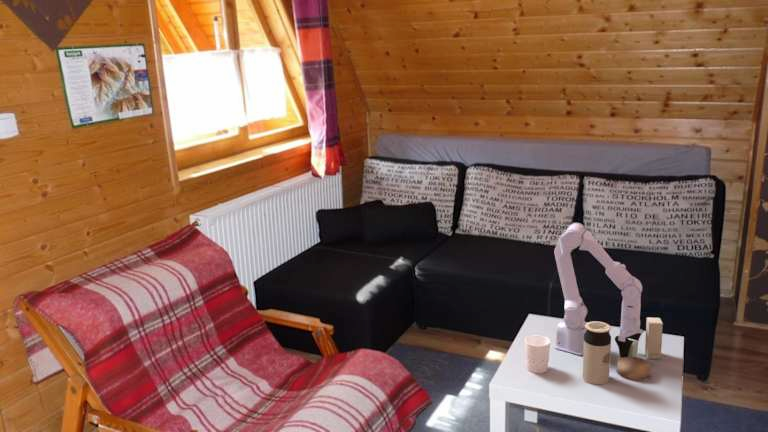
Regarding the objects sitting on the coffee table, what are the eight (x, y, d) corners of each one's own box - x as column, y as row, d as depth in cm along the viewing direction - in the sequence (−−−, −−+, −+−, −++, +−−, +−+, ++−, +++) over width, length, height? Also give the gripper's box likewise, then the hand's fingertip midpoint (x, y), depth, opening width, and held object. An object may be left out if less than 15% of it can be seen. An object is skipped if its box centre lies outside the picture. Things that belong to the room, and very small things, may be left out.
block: (618, 358, 213) (619, 342, 212) (623, 353, 217) (624, 337, 215) (632, 362, 210) (633, 345, 209) (637, 357, 214) (638, 340, 212)
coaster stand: (612, 374, 203) (612, 366, 202) (623, 362, 211) (624, 354, 210) (644, 384, 197) (644, 375, 196) (654, 370, 204) (655, 362, 204)
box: (661, 359, 211) (663, 323, 208) (646, 358, 212) (649, 323, 209) (657, 352, 216) (660, 317, 213) (643, 351, 217) (646, 316, 214)
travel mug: (576, 376, 203) (578, 324, 199) (596, 370, 206) (598, 318, 202) (594, 387, 196) (597, 333, 192) (614, 381, 199) (617, 328, 195)
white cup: (552, 365, 211) (552, 337, 208) (545, 376, 204) (546, 348, 201) (528, 360, 214) (528, 333, 212) (521, 371, 208) (522, 343, 205)
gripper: (635, 326, 202) (632, 365, 205) (650, 311, 212) (647, 348, 216) (612, 321, 206) (610, 359, 210) (629, 306, 217) (626, 342, 220)
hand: (628, 353), depth 213 cm, fingers open, 7 cm apart
